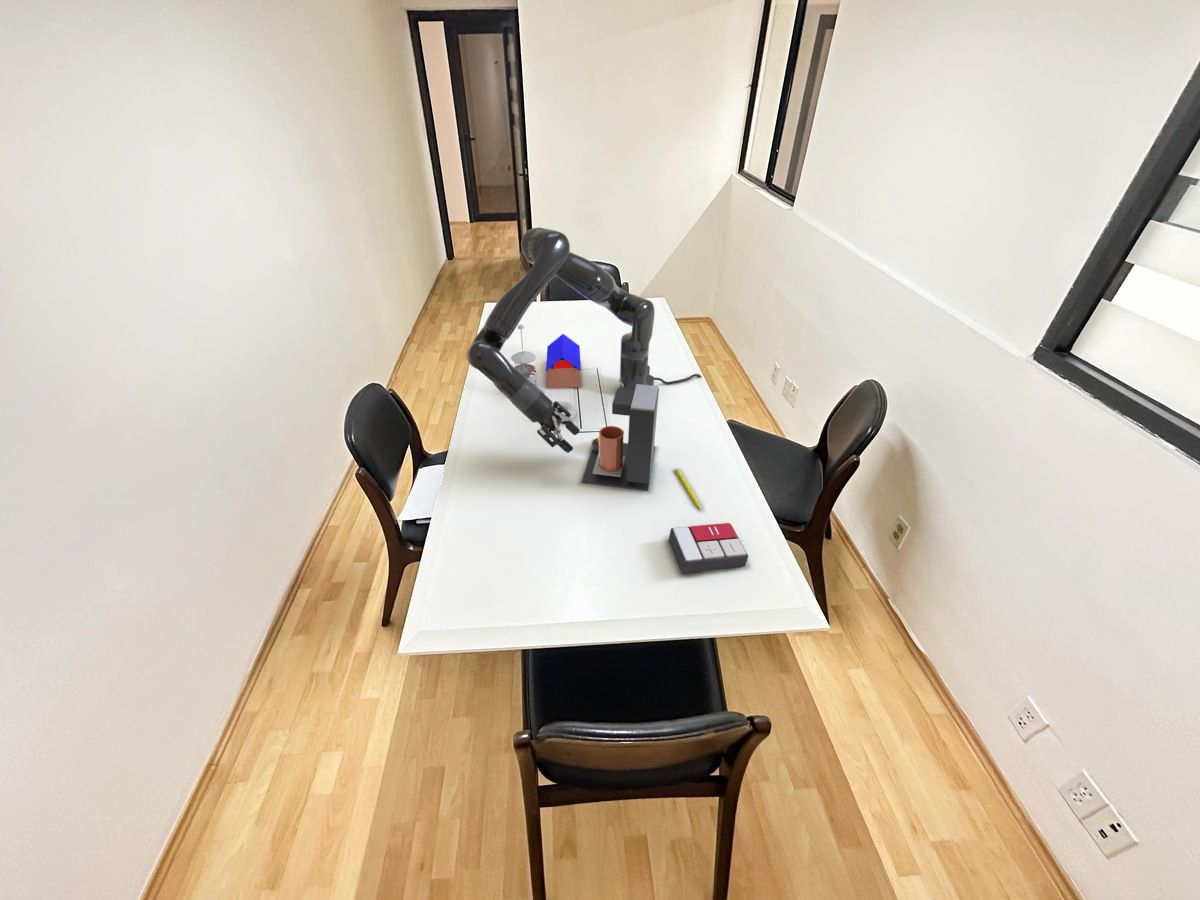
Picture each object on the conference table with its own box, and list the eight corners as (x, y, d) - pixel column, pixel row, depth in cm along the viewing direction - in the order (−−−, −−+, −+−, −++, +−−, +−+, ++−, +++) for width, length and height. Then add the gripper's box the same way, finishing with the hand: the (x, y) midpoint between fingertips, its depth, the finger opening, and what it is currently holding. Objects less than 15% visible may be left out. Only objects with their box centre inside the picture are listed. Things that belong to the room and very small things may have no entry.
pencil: (675, 471, 145) (675, 469, 145) (678, 471, 146) (678, 468, 145) (698, 511, 133) (699, 508, 132) (702, 510, 133) (702, 507, 132)
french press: (517, 403, 174) (511, 333, 160) (506, 388, 183) (498, 320, 168) (545, 397, 178) (541, 327, 163) (532, 382, 186) (527, 314, 172)
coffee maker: (591, 477, 139) (591, 403, 126) (599, 451, 149) (600, 380, 135) (648, 484, 137) (654, 409, 124) (653, 457, 147) (659, 385, 133)
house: (546, 388, 183) (545, 357, 176) (548, 362, 199) (546, 333, 192) (581, 387, 183) (580, 357, 177) (579, 362, 200) (579, 333, 193)
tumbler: (613, 454, 147) (614, 423, 141) (627, 466, 142) (628, 434, 136) (594, 462, 144) (594, 430, 138) (608, 474, 139) (608, 442, 133)
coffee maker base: (581, 483, 141) (581, 475, 139) (594, 441, 157) (594, 434, 155) (648, 491, 138) (648, 483, 137) (655, 448, 154) (655, 440, 153)
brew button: (596, 446, 151) (596, 441, 150) (598, 440, 153) (598, 434, 152) (607, 447, 150) (607, 442, 149) (609, 441, 153) (609, 435, 152)
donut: (541, 423, 165) (572, 426, 163) (540, 414, 163) (572, 417, 161) (550, 407, 173) (579, 410, 171) (549, 398, 171) (579, 401, 169)
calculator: (750, 554, 116) (685, 560, 113) (745, 567, 118) (682, 574, 115) (731, 520, 124) (670, 525, 122) (727, 533, 127) (668, 538, 124)
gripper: (531, 406, 128) (578, 449, 133) (546, 379, 139) (589, 420, 144) (512, 422, 132) (558, 464, 137) (528, 395, 143) (570, 434, 148)
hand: (574, 441), depth 141 cm, fingers open, 8 cm apart
